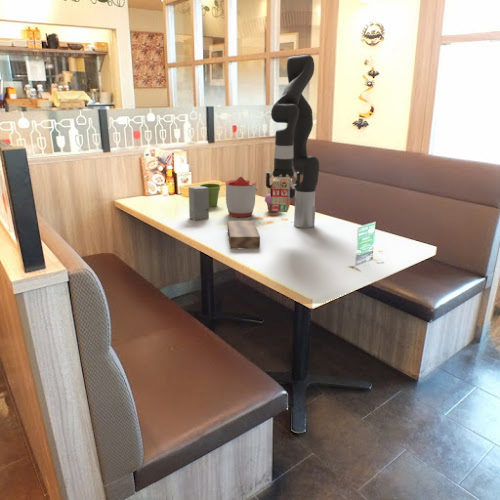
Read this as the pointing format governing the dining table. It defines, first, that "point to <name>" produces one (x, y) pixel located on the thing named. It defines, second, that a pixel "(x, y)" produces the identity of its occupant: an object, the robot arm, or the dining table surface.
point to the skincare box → (199, 202)
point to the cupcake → (269, 202)
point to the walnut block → (243, 234)
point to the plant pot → (213, 193)
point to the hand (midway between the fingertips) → (282, 197)
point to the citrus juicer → (240, 197)
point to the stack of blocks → (281, 194)
